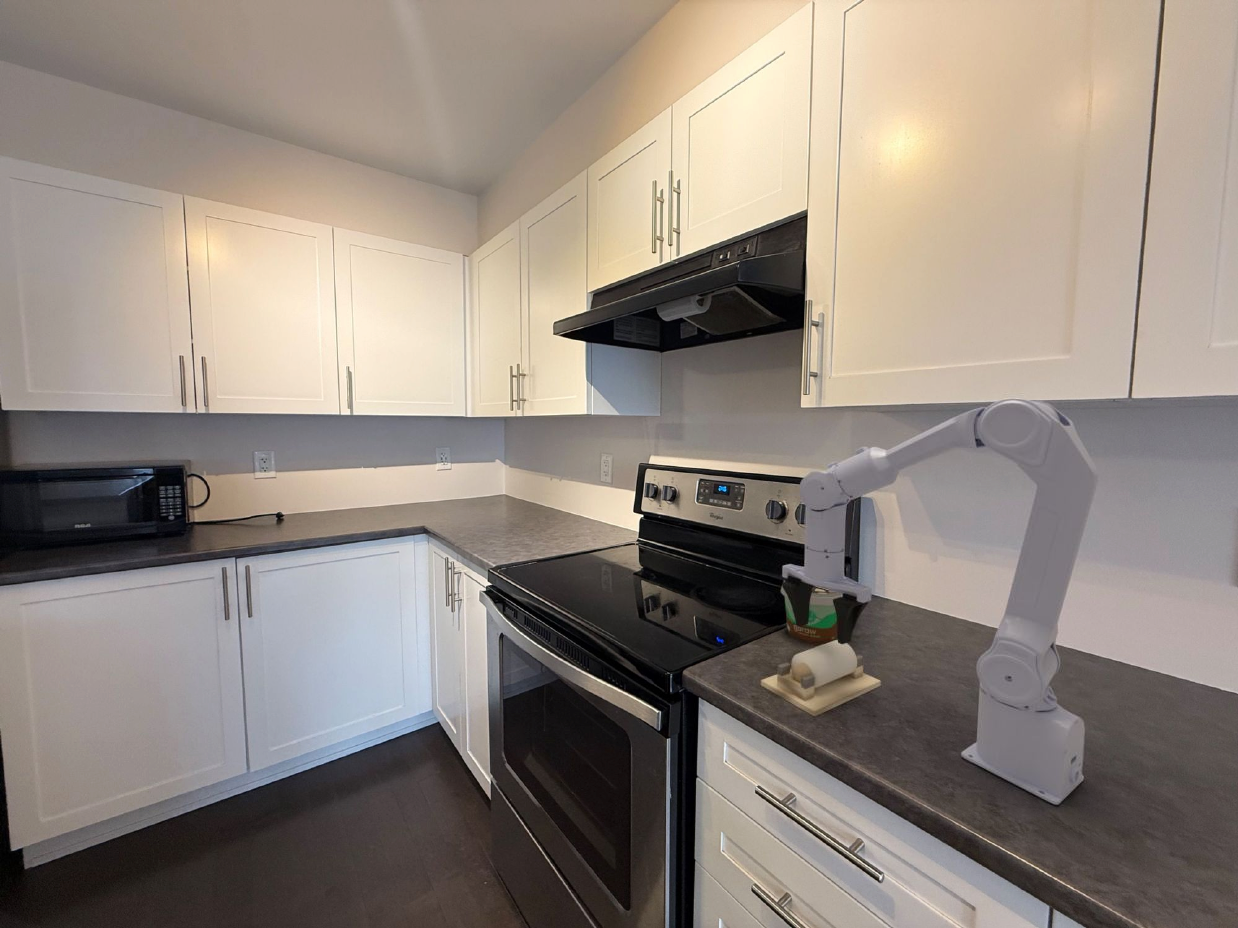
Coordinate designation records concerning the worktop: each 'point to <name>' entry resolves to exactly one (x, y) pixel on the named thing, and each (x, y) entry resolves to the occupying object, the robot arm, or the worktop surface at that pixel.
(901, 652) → the worktop surface
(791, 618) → the food container
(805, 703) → the cradle
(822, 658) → the white cylinder with cap
